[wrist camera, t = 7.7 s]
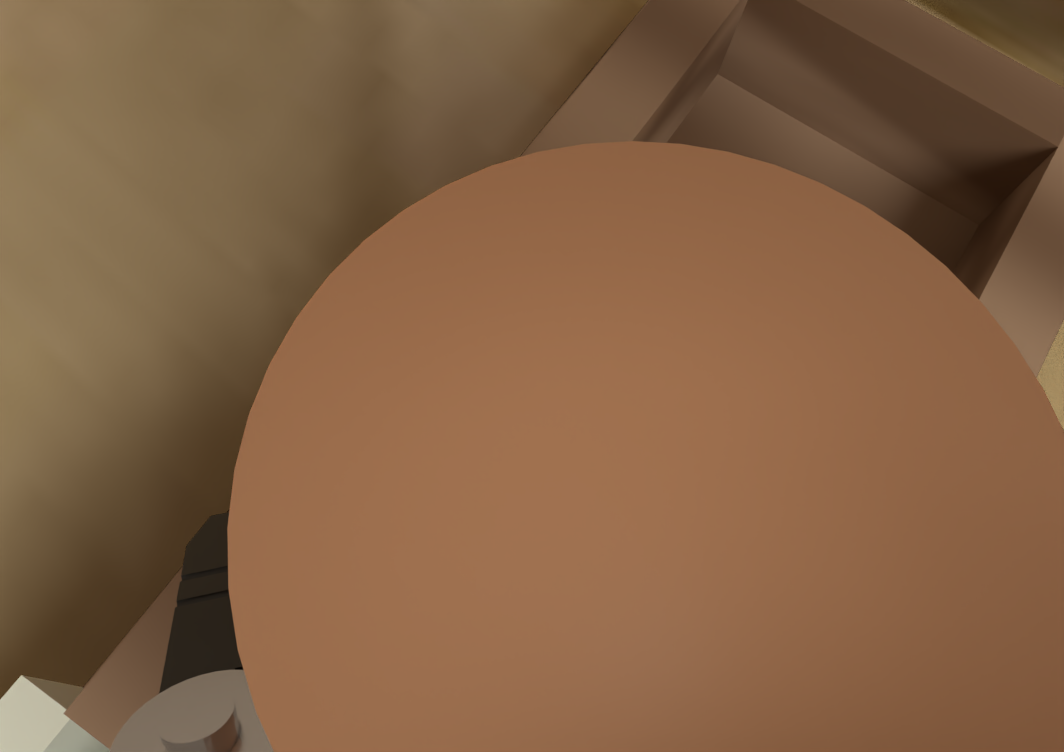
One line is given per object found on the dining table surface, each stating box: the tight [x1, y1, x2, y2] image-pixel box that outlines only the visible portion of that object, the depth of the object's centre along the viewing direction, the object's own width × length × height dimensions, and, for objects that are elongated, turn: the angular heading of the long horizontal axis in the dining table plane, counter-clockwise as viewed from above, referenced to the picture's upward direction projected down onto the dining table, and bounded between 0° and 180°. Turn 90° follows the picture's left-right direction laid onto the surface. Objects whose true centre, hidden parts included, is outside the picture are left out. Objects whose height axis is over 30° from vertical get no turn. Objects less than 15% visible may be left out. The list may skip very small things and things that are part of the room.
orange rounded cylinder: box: [227, 141, 1064, 752], centre depth 10 cm, size 4×4×12 cm
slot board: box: [63, 0, 1064, 749], centre depth 18 cm, size 20×12×4 cm, turn 147°
